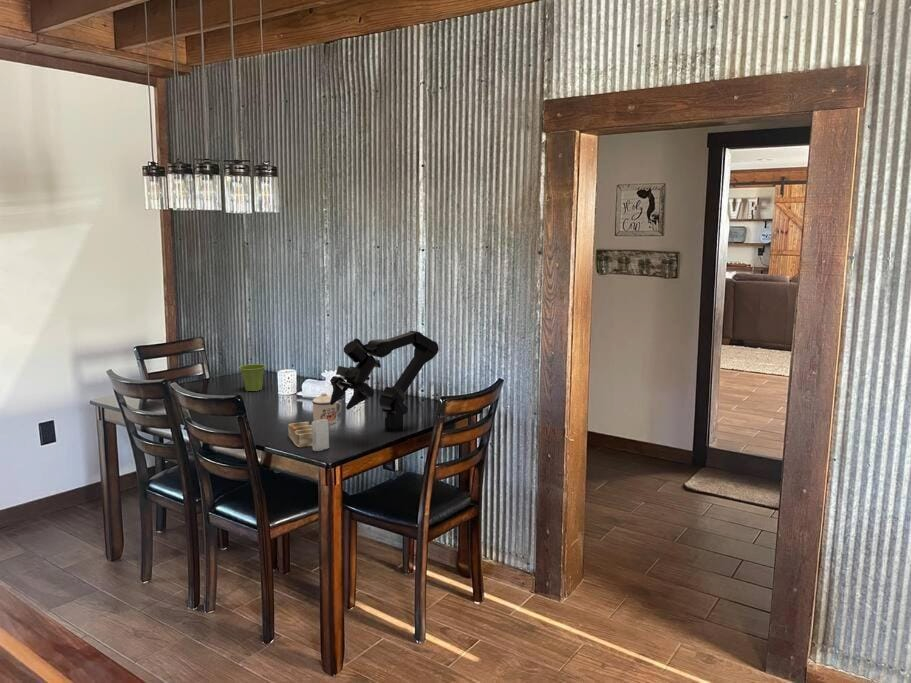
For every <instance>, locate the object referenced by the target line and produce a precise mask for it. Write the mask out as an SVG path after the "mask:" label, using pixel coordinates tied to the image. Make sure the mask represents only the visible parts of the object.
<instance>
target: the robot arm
mask: <svg viewBox="0 0 911 683" xmlns="http://www.w3.org/2000/svg"><path fill="white" fill-rule="evenodd" d="M409 345H412V346H413V348H414V350H413V351H414V352H413V357H412V358H411V360H410V361H409V363H408V364H407V366H406V368H405V369H404V370H403V371H402V373H401V374H400V376H399V378H398V379H397V380H396V382H395V383H394V385H392V386H391V387H390V386H386V387H385V388H384V389H383V391H382V392H381V393H380V394H379V395H380V398H379V400H378V401H379V406H380V408H381V409H382V412H383V413H386V415H385V416H384V429H385V431H386V432H400V431H401V432H402V431H404V430H405V425H404V415H406V414H407V413H408V410H409V407H407V406H406V404H405V399H406V398H405V397H406V396H405V395H406V392H407V391H408V389H409V388H410V386H411V384H412V383H413V381H415V378H416V377H417V376H418V374H419V373H420V371H421V369H422V368H423V367H424V366H425V364H426V363H428V362H430V361H431V360H433V359H434V358H435V357H436V356H437V355H438V353H439V350H440V349H439V344H438V343H437V341H435V340H432V339H431V338H429V337H427V336H426V335H424V334H423V333H421V332H420V331H417V330H409V331H408V332H405V333H401V334H398V335H395V336H393V337H389V338H385V339H384V338H383V339H371V340H369V341H367V343H366V344H363V342H362V341H361V339H360V338H356V337H355V338H353V340H351V341H349V342H348V343H347V344H345V345H344V347H343V352H344V354H345V355H346V356H347V357H348V358H349V359H350V360H351V361H352V362H353V363H355V364H356V363H357V364H356V365H355V366H352V365H350V366H349V367H346V366H341V365H338V366H337V369H336V372H335V376H332V377H331V378H330V379H329V382H330V385H331V386H332V394H331V396H330V397H331V400H330V404H331V405H333V404H334V403H335V402H339V400H340V399H341V398H342V397H344V395H346V391H348V389H349V390H353V392H352V393H353V394H352V395H351V397H350V399H349V401H348V403H347V405H346V406H345V409H346V410H350V409H353V408H354V407H355V406H357V405H358V404H360V403H362V402H364V401H366V400H369V399H372V398H373V397H374V395H375V390H374V389H373V388H372V387H371V386H370V385H369V384H368V383H366V381H370V379H371V378H370V375H371V374H372V372H373V370H374V368H381V366H382V364H381V363H380V362H381V361H380V360H379V359H376V358H375V357H377V358H380V359H381V358H385V357H386V356H388V355H390V354H391V353H392V351H394V350H397V349H399V348H402V347H406V346H409ZM341 376H342V377H341Z"/></svg>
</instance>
